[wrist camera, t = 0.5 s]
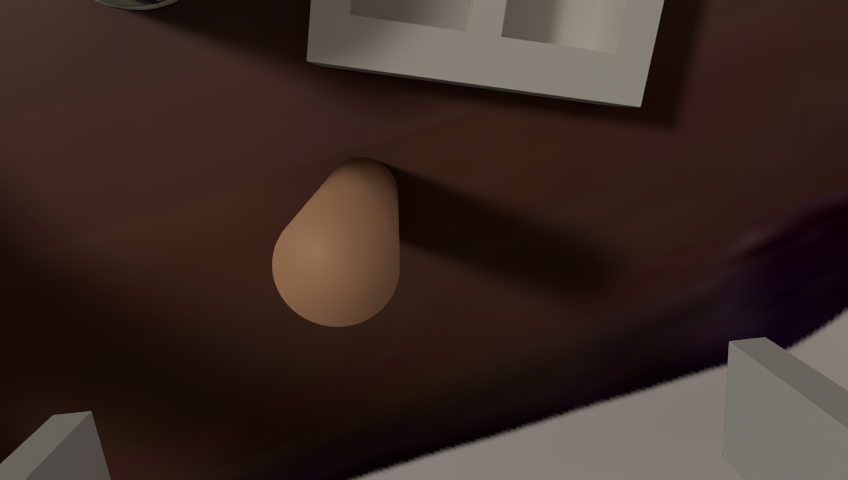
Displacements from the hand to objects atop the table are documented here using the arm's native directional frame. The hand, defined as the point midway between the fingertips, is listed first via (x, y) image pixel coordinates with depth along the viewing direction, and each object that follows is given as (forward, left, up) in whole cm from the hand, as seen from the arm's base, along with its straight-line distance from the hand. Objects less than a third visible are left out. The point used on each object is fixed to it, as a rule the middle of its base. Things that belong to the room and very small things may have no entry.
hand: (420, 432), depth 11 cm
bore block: (+2, +13, -21) cm, 24 cm away
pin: (-3, +1, -21) cm, 21 cm away
